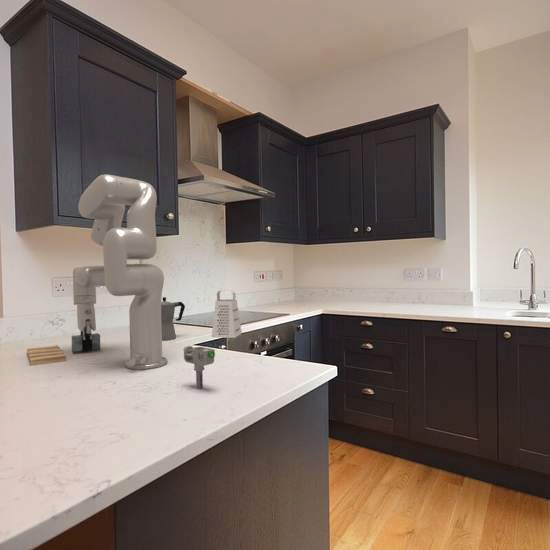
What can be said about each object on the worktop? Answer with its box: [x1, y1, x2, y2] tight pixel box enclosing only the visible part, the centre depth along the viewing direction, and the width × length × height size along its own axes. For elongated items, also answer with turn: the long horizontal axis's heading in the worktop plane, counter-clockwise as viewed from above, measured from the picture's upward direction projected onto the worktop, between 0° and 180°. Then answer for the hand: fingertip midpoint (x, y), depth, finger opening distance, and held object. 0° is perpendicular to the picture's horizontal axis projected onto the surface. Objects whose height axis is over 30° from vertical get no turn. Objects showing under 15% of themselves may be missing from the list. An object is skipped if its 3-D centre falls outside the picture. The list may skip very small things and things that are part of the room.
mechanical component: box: [183, 345, 216, 389], centre depth 96 cm, size 3×10×10 cm, turn 51°
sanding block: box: [71, 332, 102, 355], centre depth 143 cm, size 9×4×6 cm, turn 125°
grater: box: [211, 289, 243, 339], centre depth 171 cm, size 10×10×20 cm
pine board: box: [26, 344, 67, 366], centre depth 135 cm, size 24×10×2 cm, turn 35°
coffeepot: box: [161, 296, 186, 342], centre depth 166 cm, size 15×9×18 cm, turn 118°
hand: (86, 348), depth 143 cm, fingers closed on sanding block, 4 cm apart
